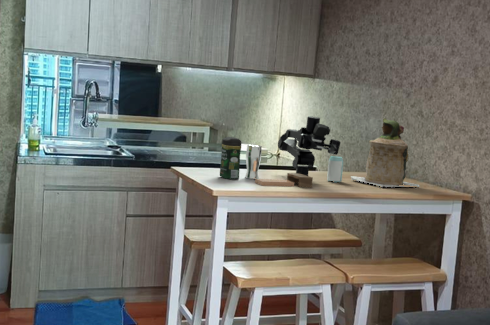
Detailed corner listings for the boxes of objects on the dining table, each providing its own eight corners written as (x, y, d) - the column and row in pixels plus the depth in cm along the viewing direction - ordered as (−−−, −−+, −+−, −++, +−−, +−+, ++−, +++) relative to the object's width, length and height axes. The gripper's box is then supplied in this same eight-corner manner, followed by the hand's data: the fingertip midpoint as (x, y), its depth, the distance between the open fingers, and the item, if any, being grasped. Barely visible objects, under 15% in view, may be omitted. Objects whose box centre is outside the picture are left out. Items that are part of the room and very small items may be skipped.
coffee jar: (217, 176, 304) (220, 135, 302) (233, 176, 307) (236, 136, 305) (224, 179, 295) (227, 137, 293) (241, 179, 298) (244, 138, 296)
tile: (255, 183, 293) (255, 178, 292) (286, 184, 298) (286, 179, 298) (261, 186, 285) (262, 181, 285) (293, 187, 291) (294, 182, 290)
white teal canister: (324, 181, 318) (326, 156, 317) (331, 180, 324) (333, 155, 323) (337, 183, 314) (339, 157, 313) (344, 182, 320) (346, 157, 319)
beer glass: (261, 179, 305) (264, 146, 304) (247, 178, 303) (249, 146, 302) (256, 177, 312) (259, 145, 310) (242, 176, 310) (244, 144, 308)
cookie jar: (382, 188, 307) (389, 119, 304) (348, 180, 328) (354, 115, 325) (421, 188, 320) (428, 121, 317) (386, 180, 341) (392, 118, 338)
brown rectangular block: (286, 182, 301) (287, 172, 300) (298, 182, 303) (299, 173, 303) (299, 187, 289) (300, 177, 288) (311, 187, 291) (312, 177, 291)
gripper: (298, 119, 296) (311, 126, 281) (336, 126, 301) (350, 133, 287) (292, 143, 298) (304, 151, 283) (330, 150, 303) (344, 158, 289)
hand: (326, 148), depth 285 cm, fingers open, 9 cm apart
